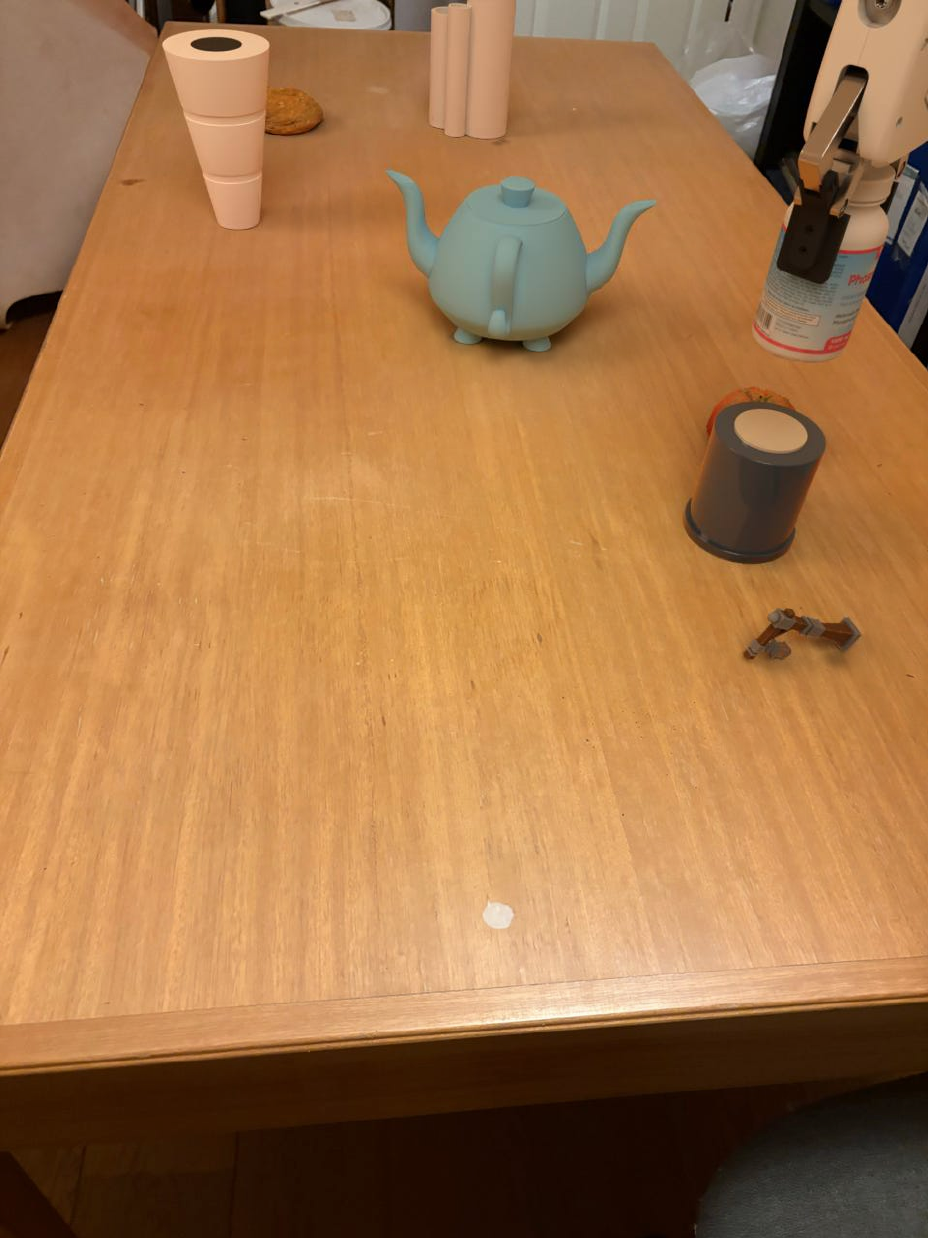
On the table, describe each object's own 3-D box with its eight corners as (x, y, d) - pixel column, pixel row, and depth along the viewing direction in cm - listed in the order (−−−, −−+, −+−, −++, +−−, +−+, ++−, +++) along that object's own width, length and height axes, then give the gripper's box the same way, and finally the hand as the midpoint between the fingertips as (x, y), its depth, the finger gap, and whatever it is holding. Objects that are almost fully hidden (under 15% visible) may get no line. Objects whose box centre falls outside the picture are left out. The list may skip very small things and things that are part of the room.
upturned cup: (811, 526, 74) (852, 428, 67) (760, 580, 69) (798, 481, 63) (717, 479, 78) (746, 382, 71) (662, 528, 73) (688, 429, 66)
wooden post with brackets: (729, 645, 63) (770, 597, 61) (808, 658, 67) (850, 614, 65) (742, 664, 62) (784, 617, 60) (821, 676, 66) (864, 632, 64)
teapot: (385, 308, 95) (383, 165, 85) (539, 269, 103) (554, 134, 93) (471, 385, 86) (481, 235, 76) (633, 336, 94) (661, 194, 84)
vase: (508, 124, 134) (522, -43, 120) (502, 142, 129) (516, -30, 115) (431, 116, 135) (435, -51, 121) (422, 133, 130) (425, -39, 116)
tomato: (680, 417, 81) (743, 354, 79) (706, 440, 87) (766, 381, 84) (739, 478, 77) (808, 413, 75) (762, 498, 83) (827, 438, 81)
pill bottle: (841, 375, 59) (910, 193, 51) (744, 355, 60) (797, 174, 52) (845, 330, 63) (910, 156, 55) (754, 312, 64) (805, 139, 56)
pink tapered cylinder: (269, 245, 104) (250, 64, 91) (177, 234, 104) (145, 53, 91) (296, 207, 111) (282, 34, 98) (210, 197, 112) (185, 24, 99)
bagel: (336, 130, 129) (334, 93, 126) (261, 141, 125) (257, 102, 122) (307, 107, 135) (304, 71, 131) (235, 117, 131) (230, 80, 127)
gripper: (963, -76, 38) (820, 328, 51) (1082, -114, 48) (936, 235, 60) (796, -105, 41) (702, 282, 54) (939, -135, 51) (830, 200, 64)
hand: (827, 254), depth 57 cm, fingers closed on pill bottle, 6 cm apart
